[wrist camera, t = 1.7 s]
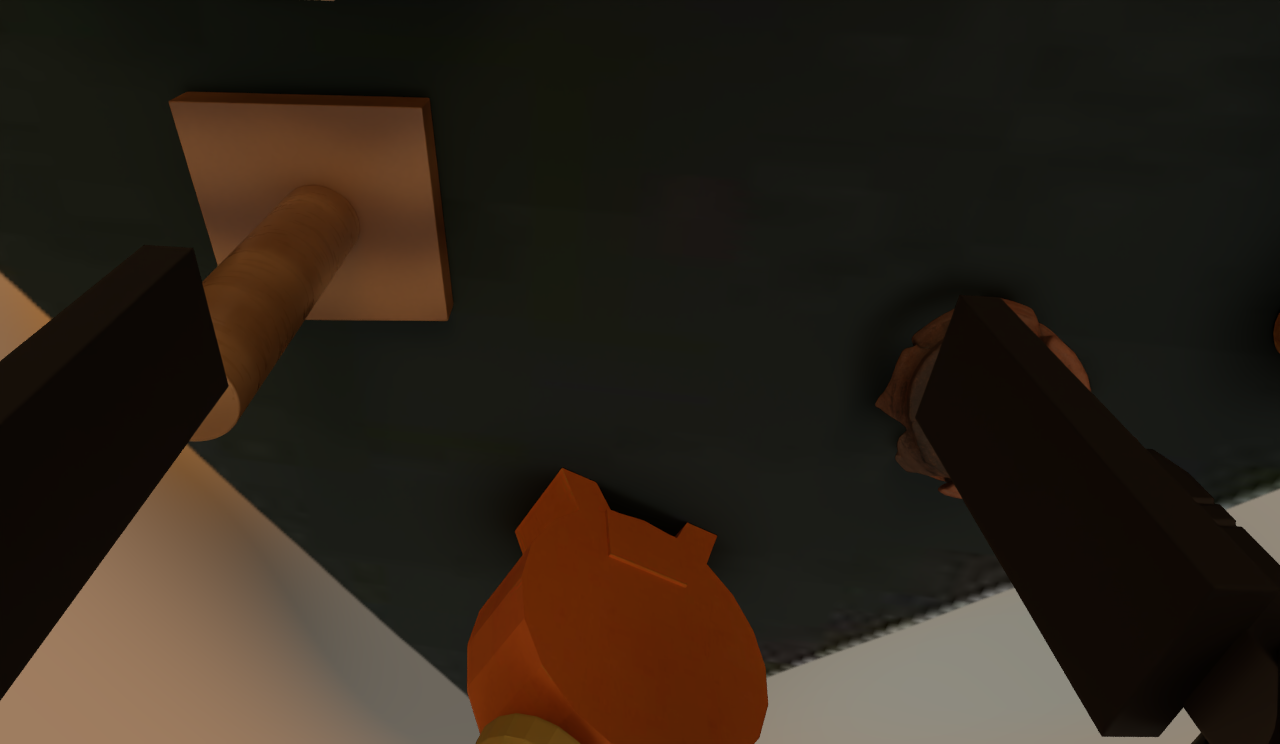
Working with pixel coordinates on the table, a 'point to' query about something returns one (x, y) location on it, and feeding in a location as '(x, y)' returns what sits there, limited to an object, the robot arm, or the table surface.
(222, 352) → the stand
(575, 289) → the table surface
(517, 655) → the alarm clock
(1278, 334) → the disposable coffee cup
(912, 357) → the pottery mug
